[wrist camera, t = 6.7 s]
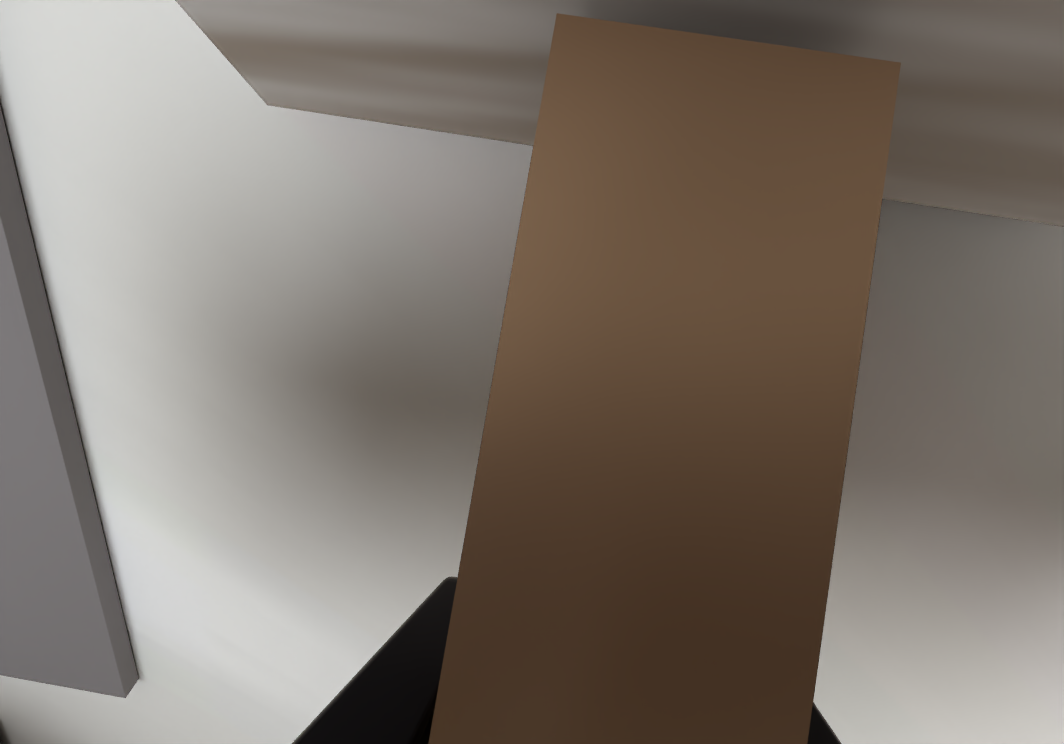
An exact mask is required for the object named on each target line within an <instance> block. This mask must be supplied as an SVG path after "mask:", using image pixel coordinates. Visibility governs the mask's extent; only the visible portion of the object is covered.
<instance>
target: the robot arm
mask: <svg viewBox="0 0 1064 744" xmlns="http://www.w3.org/2000/svg"><path fill="white" fill-rule="evenodd" d="M456 584H457V577H448V578H446V579H445V580H443V581H442V582H441V584H440V585H439V586H438V587H437V588H436V589H435V590H434V591H433V592H432V593H431V594H430V595H429V596H428V598H427V599H426V600H425V601H424V602H423V603H422V604H421V605H420V606H419V607H418V608H417V609H416V610H415V612H414V613H413V614H412V615H411V616H410V617H409V618H408V619H407V620H406V621H405V622H404V623H403V624H402V626H401V627H400V628H399V629H398V630H397V631H396V632H395V633H394V634H393V635H392V636H391V637H390V638H389V640H388V641H387V642H386V643H385V644H384V645H383V646H382V647H381V648H380V649H379V650H378V651H377V652H376V654H375V655H374V656H373V657H372V658H371V659H370V660H369V661H368V662H367V663H366V664H365V665H364V666H363V668H362V669H361V670H360V671H359V672H358V673H357V674H356V675H355V676H354V677H353V678H352V679H351V680H350V682H349V683H348V684H347V685H346V686H345V687H344V688H343V689H342V690H341V691H340V692H339V693H338V694H337V696H336V697H335V698H334V699H333V700H332V701H331V702H330V703H329V704H328V705H327V706H326V707H325V708H324V710H323V711H322V712H321V713H320V714H319V715H318V716H317V717H316V718H315V719H314V720H313V721H312V722H311V724H310V725H309V726H308V727H307V728H306V729H305V730H304V731H303V732H302V733H301V734H300V735H299V736H298V738H297V739H296V740H295V741H294V742H293V743H292V744H429V738H430V732H431V726H432V721H433V715H434V709H435V704H436V698H437V692H438V687H439V681H440V675H441V669H442V664H443V658H444V652H445V647H446V641H447V635H448V630H449V624H450V618H451V612H452V607H453V601H454V595H455V590H456ZM0 744H2V743H1V741H0ZM807 744H841V742H840V741H839V739H838V738H837V736H836V735H835V733H834V732H833V730H832V729H831V728H830V726H829V725H828V723H827V722H826V720H825V719H824V717H823V716H822V714H821V713H820V711H819V710H818V708H817V707H816V706H815V704H814V703H813V706H812V713H811V720H810V727H809V735H808V742H807Z"/></svg>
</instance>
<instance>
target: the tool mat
mask: <svg viewBox="0 0 1064 744" xmlns="http://www.w3.org/2000/svg"><path fill="white" fill-rule="evenodd" d="M0 675H3V676H9V677H14V678H19V679H25V680H30V681H36V682H41V683H47V684H52V685H57V686H63V687H68V688H74V689H79V690H85V691H90V692H95V693H101V694H106V695H112V696H117V697H123V698H126V697H127V695H128V694H129V692H130V691H131V689H132V688H133V686H134V685H135V683H136V682H137V680H138V674H137V670H136V666H135V662H134V658H133V654H132V650H131V645H130V641H129V637H128V633H127V629H126V625H125V621H124V616H123V612H122V608H121V604H120V600H119V596H118V592H117V587H116V583H115V579H114V575H113V571H112V567H111V563H110V558H109V554H108V550H107V546H106V542H105V538H104V533H103V529H102V525H101V521H100V517H99V513H98V509H97V504H96V500H95V496H94V492H93V488H92V484H91V480H90V475H89V471H88V467H87V463H86V459H85V455H84V451H83V446H82V442H81V438H80V434H79V430H78V426H77V422H76V417H75V413H74V409H73V405H72V401H71V397H70V393H69V388H68V384H67V380H66V376H65V372H64V368H63V364H62V359H61V355H60V351H59V347H58V343H57V339H56V334H55V330H54V326H53V322H52V318H51V314H50V310H49V305H48V301H47V297H46V293H45V289H44V285H43V281H42V276H41V272H40V268H39V264H38V260H37V256H36V252H35V247H34V243H33V239H32V235H31V231H30V227H29V223H28V218H27V214H26V210H25V206H24V202H23V198H22V194H21V189H20V185H19V181H18V177H17V173H16V169H15V165H14V160H13V156H12V152H11V148H10V144H9V140H8V135H7V131H6V127H5V123H4V119H3V115H2V111H1V106H0Z"/></svg>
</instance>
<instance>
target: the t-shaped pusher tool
mask: <svg viewBox="0 0 1064 744" xmlns="http://www.w3.org/2000/svg"><path fill="white" fill-rule="evenodd" d="M176 2H177V3H178V4H179V5H180V6H181V7H182V8H183V10H184V11H185V12H186V13H187V14H188V15H189V16H190V17H191V19H192V20H193V21H194V22H195V23H196V24H197V25H198V27H199V28H200V29H201V30H202V31H203V32H204V33H205V35H206V36H207V37H208V38H209V39H210V40H211V41H212V43H213V44H214V45H215V46H216V47H217V48H218V49H219V50H220V52H221V53H222V54H223V55H224V56H225V57H226V58H227V60H228V61H229V62H230V63H231V64H232V65H233V66H234V68H235V69H236V70H237V71H238V72H239V73H240V74H241V76H242V77H243V78H244V79H245V80H246V81H247V82H248V83H249V85H250V86H251V87H252V88H253V89H254V90H255V91H256V93H257V94H258V95H259V96H260V97H261V98H262V99H263V101H264V102H265V103H266V104H267V105H270V106H277V107H283V108H290V109H296V110H303V111H310V112H316V113H323V114H329V115H336V116H342V117H349V118H355V119H362V120H369V121H375V122H382V123H388V124H395V125H401V126H408V127H414V128H421V129H428V130H434V131H441V132H447V133H454V134H460V135H467V136H473V137H480V138H486V139H493V140H500V141H506V142H513V143H519V144H526V145H532V146H533V151H532V157H531V162H530V168H529V174H528V180H527V185H526V191H525V197H524V202H523V208H522V214H521V219H520V225H519V231H518V236H517V242H516V248H515V254H514V259H513V265H512V271H511V276H510V282H509V288H508V293H507V299H506V305H505V311H504V316H503V322H502V328H501V333H500V339H499V345H498V350H497V356H496V362H495V368H494V373H493V379H492V385H491V390H490V396H489V402H488V407H487V413H486V419H485V424H484V430H483V436H482V442H481V447H480V453H479V459H478V464H477V470H476V476H475V481H474V487H473V493H472V499H471V504H470V510H469V516H468V521H467V527H466V533H465V538H464V544H463V550H462V556H461V561H460V567H459V573H458V578H457V584H456V590H455V595H454V601H453V607H452V612H451V618H450V624H449V630H448V635H447V641H446V647H445V652H444V658H443V664H442V669H441V675H440V681H439V687H438V692H437V698H436V704H435V709H434V715H433V721H432V726H431V732H430V738H429V744H807V742H808V735H809V727H810V720H811V713H812V706H813V698H814V691H815V684H816V677H817V669H818V662H819V655H820V647H821V640H822V633H823V626H824V618H825V611H826V604H827V597H828V589H829V582H830V575H831V568H832V560H833V553H834V546H835V538H836V531H837V524H838V517H839V509H840V502H841V495H842V488H843V480H844V473H845V466H846V459H847V451H848V444H849V437H850V429H851V422H852V415H853V408H854V400H855V393H856V386H857V379H858V371H859V364H860V357H861V350H862V342H863V335H864V328H865V320H866V313H867V306H868V299H869V291H870V284H871V277H872V270H873V262H874V255H875V248H876V240H877V233H878V226H879V219H880V211H881V204H882V199H886V200H893V201H899V202H906V203H912V204H919V205H926V206H932V207H939V208H945V209H952V210H958V211H965V212H971V213H978V214H985V215H991V216H998V217H1004V218H1011V219H1017V220H1024V221H1030V222H1037V223H1044V224H1050V225H1057V226H1063V227H1064V0H176Z"/></svg>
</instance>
